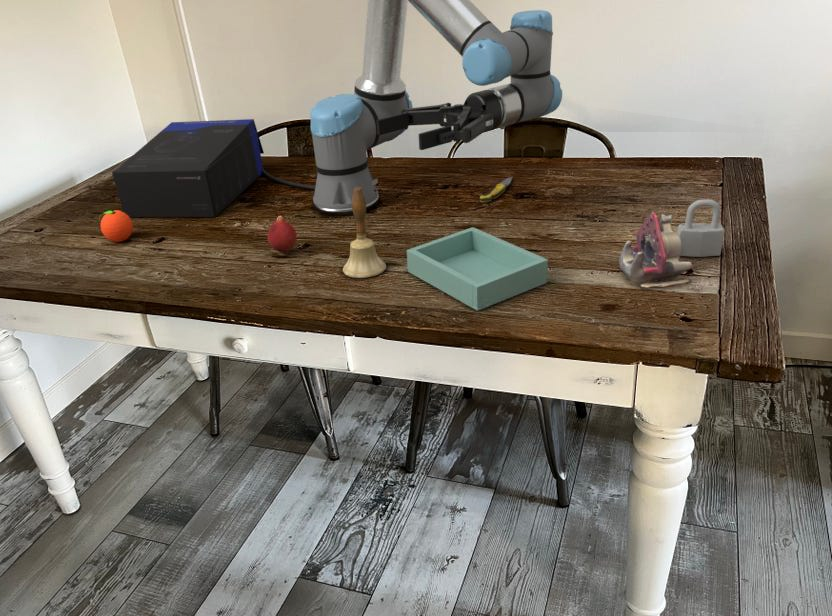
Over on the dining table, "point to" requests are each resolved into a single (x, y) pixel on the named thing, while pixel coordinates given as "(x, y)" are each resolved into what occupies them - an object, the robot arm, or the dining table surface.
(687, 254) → the padlock
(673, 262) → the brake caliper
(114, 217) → the clementine
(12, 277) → the dining table surface
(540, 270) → the open box
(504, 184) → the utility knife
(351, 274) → the hand bell
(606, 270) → the dining table surface
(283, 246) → the onion
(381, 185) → the dining table surface
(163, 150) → the headphone box
